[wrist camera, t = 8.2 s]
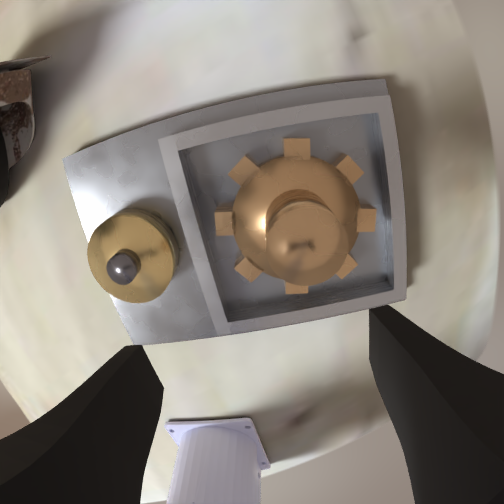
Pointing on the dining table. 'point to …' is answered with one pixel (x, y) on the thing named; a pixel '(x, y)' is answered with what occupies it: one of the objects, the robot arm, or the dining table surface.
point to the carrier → (223, 195)
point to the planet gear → (295, 216)
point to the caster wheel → (15, 115)
